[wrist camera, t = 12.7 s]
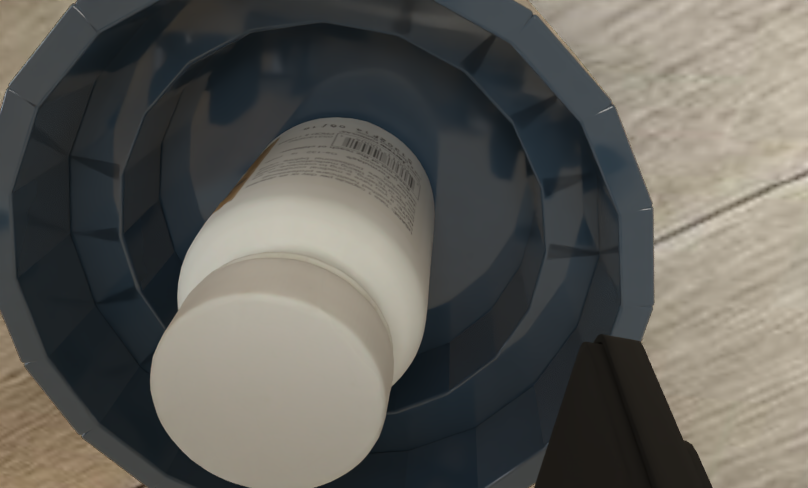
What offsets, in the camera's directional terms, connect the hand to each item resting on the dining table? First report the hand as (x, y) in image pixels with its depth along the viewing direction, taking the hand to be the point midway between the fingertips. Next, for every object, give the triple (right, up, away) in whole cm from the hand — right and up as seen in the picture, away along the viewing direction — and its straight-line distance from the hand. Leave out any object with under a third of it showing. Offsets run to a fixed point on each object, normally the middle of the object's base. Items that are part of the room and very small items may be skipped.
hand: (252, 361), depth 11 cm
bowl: (+1, +3, +7) cm, 8 cm away
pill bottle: (+1, +3, +7) cm, 8 cm away
